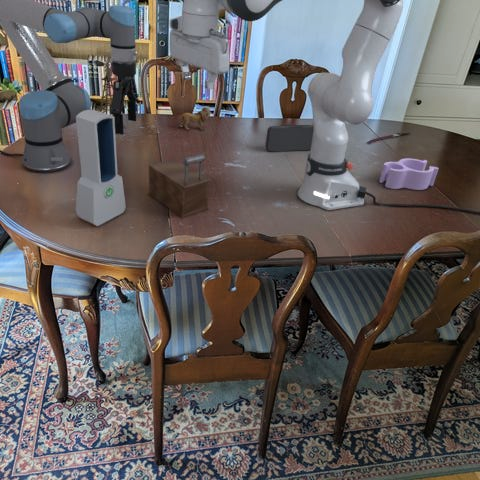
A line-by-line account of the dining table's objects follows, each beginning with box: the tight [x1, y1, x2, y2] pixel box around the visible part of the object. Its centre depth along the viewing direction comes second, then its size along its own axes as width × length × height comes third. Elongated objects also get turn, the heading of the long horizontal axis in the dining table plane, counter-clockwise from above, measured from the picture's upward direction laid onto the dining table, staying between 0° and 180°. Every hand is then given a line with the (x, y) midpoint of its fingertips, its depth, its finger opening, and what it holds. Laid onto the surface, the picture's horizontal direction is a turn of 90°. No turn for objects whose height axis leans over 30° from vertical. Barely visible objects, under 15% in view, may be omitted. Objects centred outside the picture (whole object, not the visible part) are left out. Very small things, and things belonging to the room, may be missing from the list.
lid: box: [148, 153, 211, 190], centre depth 138 cm, size 18×10×9 cm, turn 43°
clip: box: [378, 157, 439, 191], centre depth 172 cm, size 20×12×7 cm, turn 109°
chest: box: [148, 167, 210, 218], centre depth 143 cm, size 18×10×9 cm, turn 43°
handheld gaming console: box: [264, 124, 313, 152], centre depth 189 cm, size 23×3×10 cm, turn 108°
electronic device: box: [75, 109, 127, 227], centre depth 126 cm, size 12×8×30 cm, turn 148°
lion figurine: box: [176, 106, 211, 131], centre depth 199 cm, size 15×5×9 cm, turn 110°
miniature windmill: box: [95, 51, 125, 129], centre depth 184 cm, size 9×8×30 cm
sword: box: [367, 132, 410, 144], centre depth 214 cm, size 31×3×1 cm, turn 126°
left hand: (125, 126), depth 157 cm, fingers open, 13 cm apart
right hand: (197, 83), depth 121 cm, fingers open, 8 cm apart
